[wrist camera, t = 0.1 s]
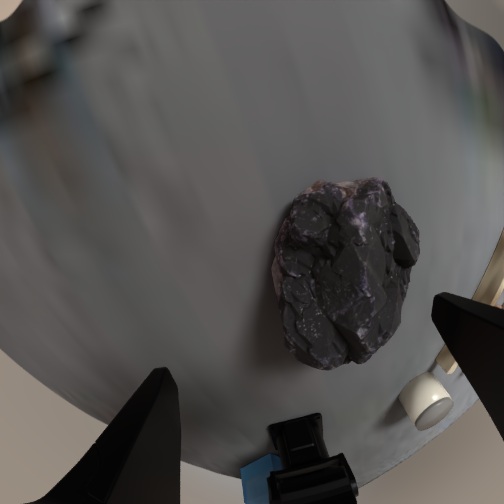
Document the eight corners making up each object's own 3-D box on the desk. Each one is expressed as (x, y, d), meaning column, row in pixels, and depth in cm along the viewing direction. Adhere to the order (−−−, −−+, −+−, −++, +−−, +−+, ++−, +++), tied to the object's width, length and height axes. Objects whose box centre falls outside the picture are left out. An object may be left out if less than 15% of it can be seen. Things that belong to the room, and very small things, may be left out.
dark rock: (390, 154, 22) (464, 162, 13) (416, 291, 26) (471, 347, 17) (239, 204, 24) (233, 241, 14) (290, 339, 28) (306, 417, 18)
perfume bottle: (240, 468, 36) (248, 536, 25) (270, 453, 35) (284, 525, 24) (268, 476, 38) (280, 537, 27) (298, 461, 37) (314, 526, 26)
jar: (429, 392, 35) (447, 418, 30) (396, 408, 35) (412, 436, 30) (437, 366, 33) (459, 393, 27) (402, 382, 32) (421, 413, 27)
